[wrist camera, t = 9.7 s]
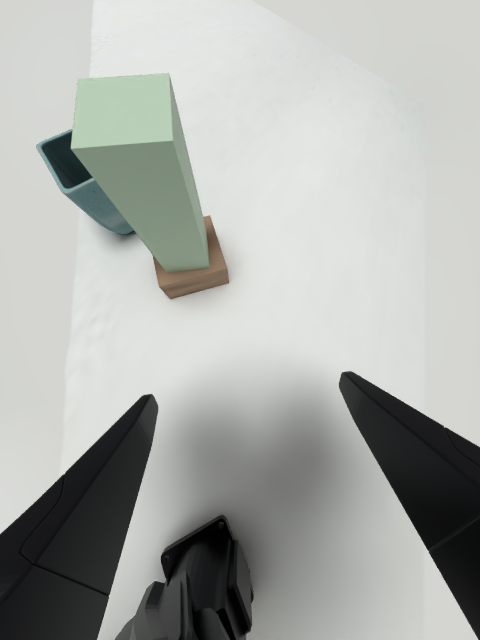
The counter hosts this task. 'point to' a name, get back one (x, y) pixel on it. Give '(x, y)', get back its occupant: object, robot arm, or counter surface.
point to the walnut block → (195, 271)
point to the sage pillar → (142, 163)
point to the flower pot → (80, 183)
